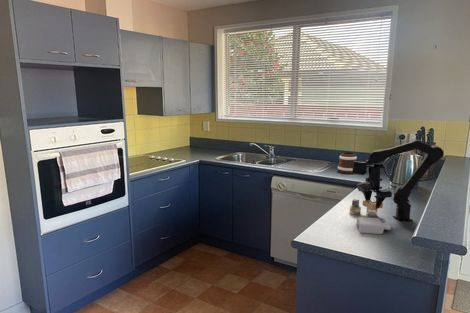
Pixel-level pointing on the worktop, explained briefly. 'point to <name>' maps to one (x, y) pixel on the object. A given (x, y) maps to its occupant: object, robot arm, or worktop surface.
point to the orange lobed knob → (372, 210)
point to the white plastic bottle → (371, 225)
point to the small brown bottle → (355, 207)
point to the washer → (371, 204)
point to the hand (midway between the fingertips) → (372, 206)
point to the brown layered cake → (346, 163)
